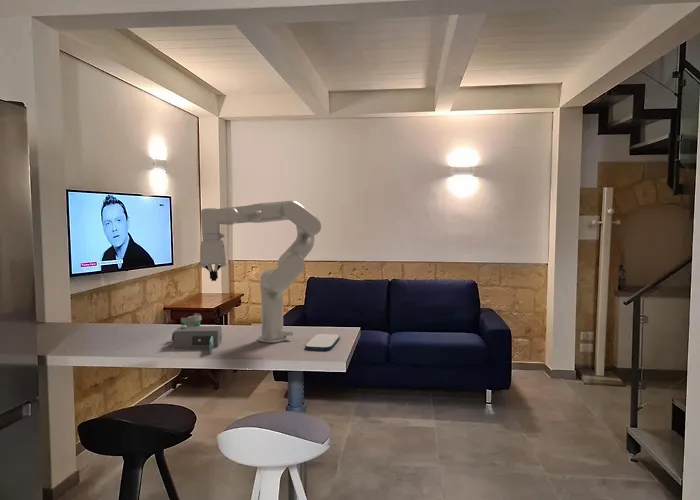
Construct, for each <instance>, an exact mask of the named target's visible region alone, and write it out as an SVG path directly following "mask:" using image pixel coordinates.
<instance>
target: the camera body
mask: <svg viewBox="0 0 700 500" xmlns="http://www.w3.org/2000/svg"><path fill="white" fill-rule="evenodd" d="M222 330H223V329H222V325H217V326H215V325H213V326H211V325H207V326H206V325H202V326H201V325H200V326H196V327H187V326H186V325H182V324H181V325H180V326H179V327H177V328H176V329H175V330H174V331H173V332H172V335H171V341H172V342H173V346H174V347H173V348H175V349H181V348H184V347H192V348H210V339H211V336H214V348H219V346H220V345H221V344H222V342H223V341H222V334H223V333H222Z"/></svg>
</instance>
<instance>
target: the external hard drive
mask: <svg viewBox="0 0 700 500" xmlns="http://www.w3.org/2000/svg"><path fill="white" fill-rule="evenodd" d="M340 339H341V338H340V335H339V334H336V333H335V334H334V333H332V334H331V333H318V334H315V335H314V336H313V337H311V339H310V340H308V341H307V342H306V343H305V346H304V349H305V351H306V350H307V351H315V352H316V351H318V352H328V351H331V350H333V348H335V346H336V345H337V343H338V342H339V341H340Z"/></svg>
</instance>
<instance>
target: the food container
mask: <svg viewBox="0 0 700 500" xmlns="http://www.w3.org/2000/svg"><path fill="white" fill-rule="evenodd" d="M202 320H203V318H202V315H201V314H200V313H197V312H195V313H193V315H189V316H187V317H181V318H180V323H181V326H182V325H186V326H187V327H196V326H201V321H202Z"/></svg>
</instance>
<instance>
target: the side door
mask: <svg viewBox="0 0 700 500" xmlns="http://www.w3.org/2000/svg"><path fill="white" fill-rule="evenodd" d="M214 348H215V347H214V336H211V339H210V347H209V354H212V353H213V350H214Z"/></svg>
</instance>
